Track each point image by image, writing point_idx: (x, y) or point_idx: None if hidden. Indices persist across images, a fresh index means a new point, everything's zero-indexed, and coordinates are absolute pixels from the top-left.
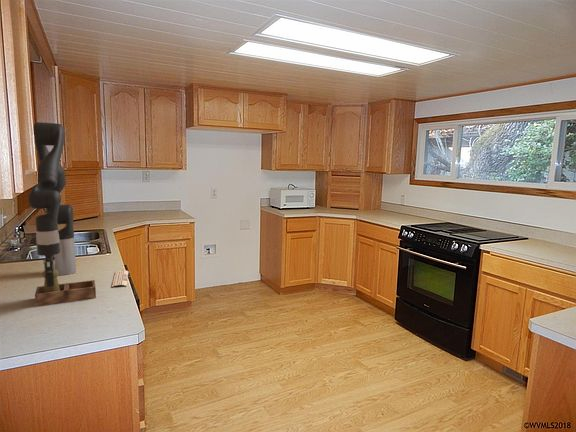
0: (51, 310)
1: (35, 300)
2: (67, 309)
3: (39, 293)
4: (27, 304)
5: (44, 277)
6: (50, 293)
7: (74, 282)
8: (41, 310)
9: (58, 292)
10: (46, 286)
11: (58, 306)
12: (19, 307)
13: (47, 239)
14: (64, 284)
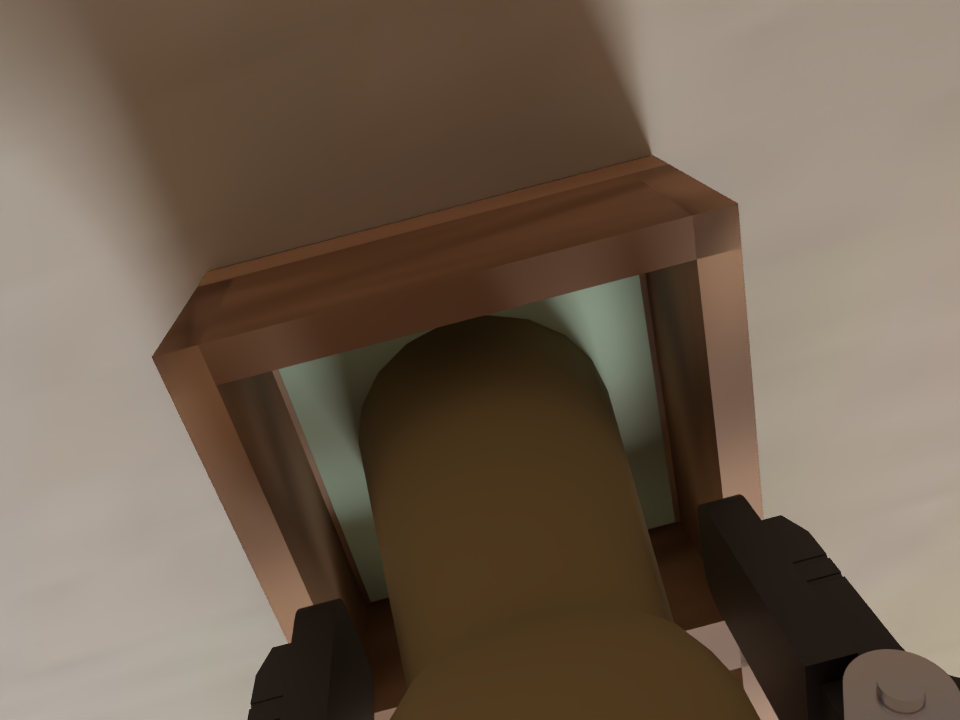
0: (9, 542)
1: (184, 309)
2: (51, 693)
3: (220, 417)
4: (311, 98)
5: (425, 678)
6: (261, 565)
7: (771, 718)
8: (5, 420)
9: None
10: (401, 534)
11: (171, 570)
12: (157, 7)
13: None
14: (711, 625)
